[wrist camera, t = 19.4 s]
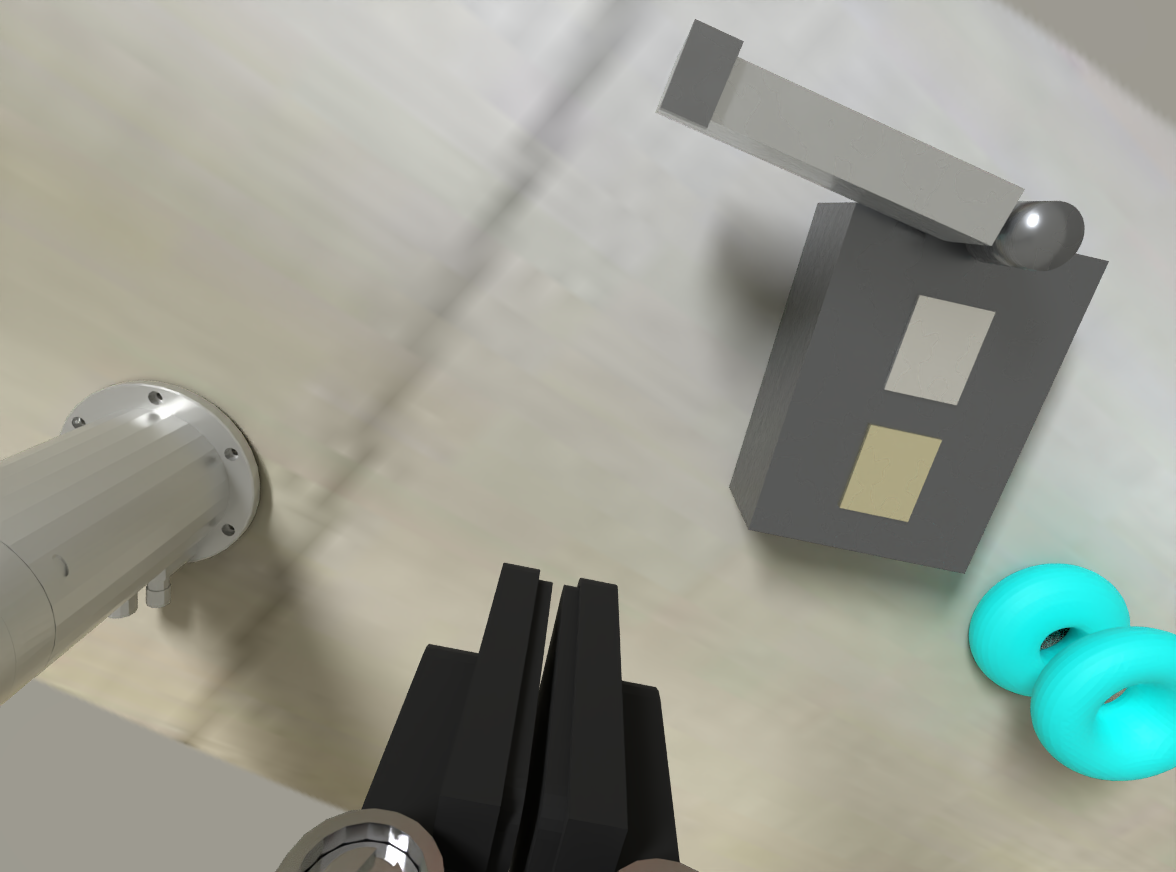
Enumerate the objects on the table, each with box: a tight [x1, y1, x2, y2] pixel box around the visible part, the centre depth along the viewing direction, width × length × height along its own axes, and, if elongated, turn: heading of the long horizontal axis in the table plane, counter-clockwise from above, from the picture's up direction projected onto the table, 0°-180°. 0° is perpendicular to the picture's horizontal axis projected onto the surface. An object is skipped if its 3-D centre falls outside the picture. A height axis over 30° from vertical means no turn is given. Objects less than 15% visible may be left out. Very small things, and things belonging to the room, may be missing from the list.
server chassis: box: [729, 202, 1109, 574], centre depth 37 cm, size 20×13×7 cm, turn 168°
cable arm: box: [656, 19, 1084, 271], centre depth 28 cm, size 18×3×5 cm, turn 68°
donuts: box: [969, 564, 1176, 781], centre depth 42 cm, size 10×10×10 cm
